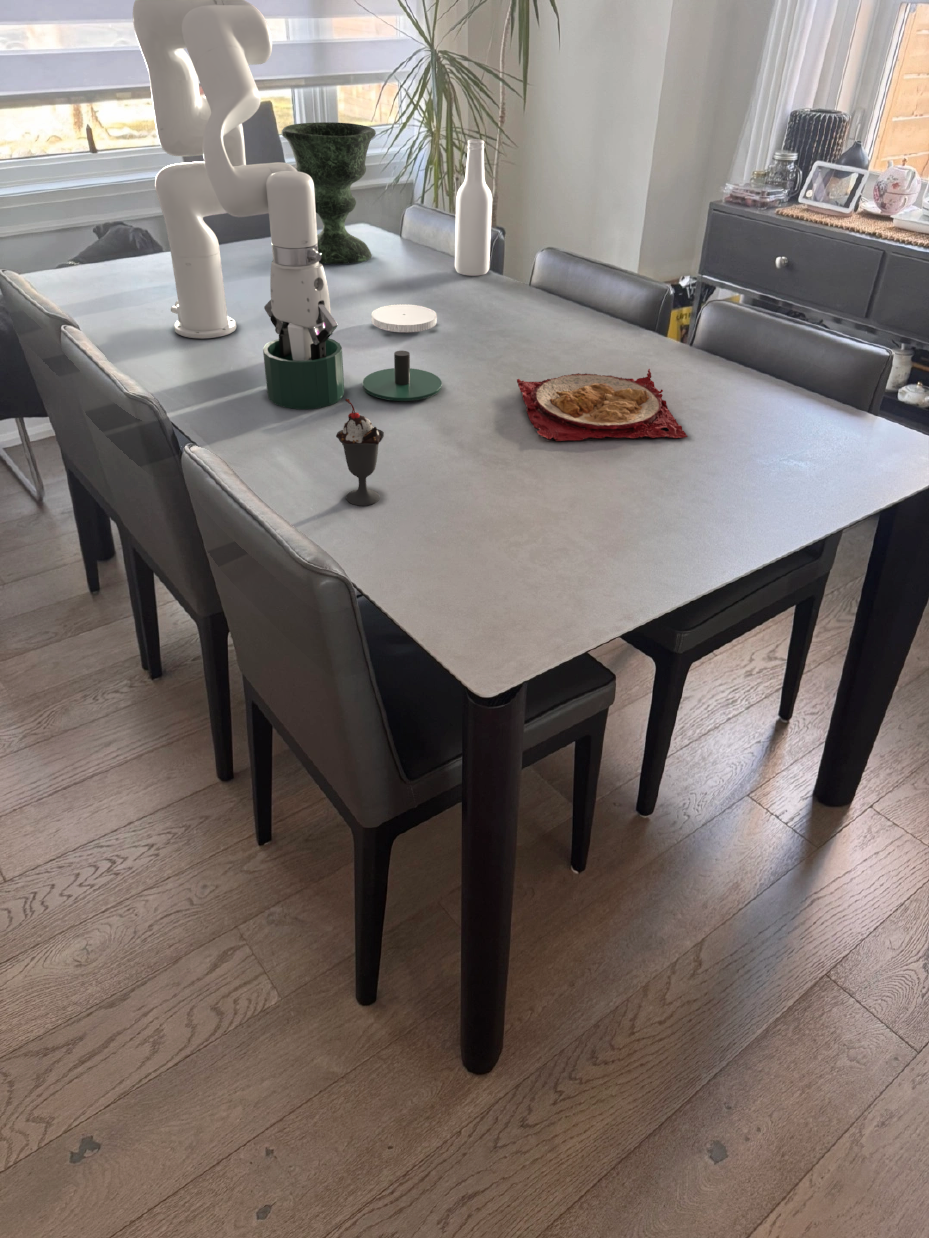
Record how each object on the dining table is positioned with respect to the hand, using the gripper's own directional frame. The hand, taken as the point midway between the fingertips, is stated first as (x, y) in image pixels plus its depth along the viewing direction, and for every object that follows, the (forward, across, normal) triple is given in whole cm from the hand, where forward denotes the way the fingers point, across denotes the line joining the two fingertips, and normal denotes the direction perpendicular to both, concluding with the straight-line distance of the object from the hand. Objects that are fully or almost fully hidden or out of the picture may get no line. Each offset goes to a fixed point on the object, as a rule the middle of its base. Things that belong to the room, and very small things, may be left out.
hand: (303, 358), depth 162 cm
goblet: (+7, +57, -74) cm, 94 cm away
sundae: (+7, -33, +24) cm, 41 cm away
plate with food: (+7, -46, -26) cm, 53 cm away
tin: (+7, 0, 0) cm, 7 cm away
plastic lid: (+7, +9, -41) cm, 43 cm away
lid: (+6, -12, -13) cm, 19 cm away
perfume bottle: (+6, 0, 0) cm, 6 cm away
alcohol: (+7, +21, -86) cm, 89 cm away
